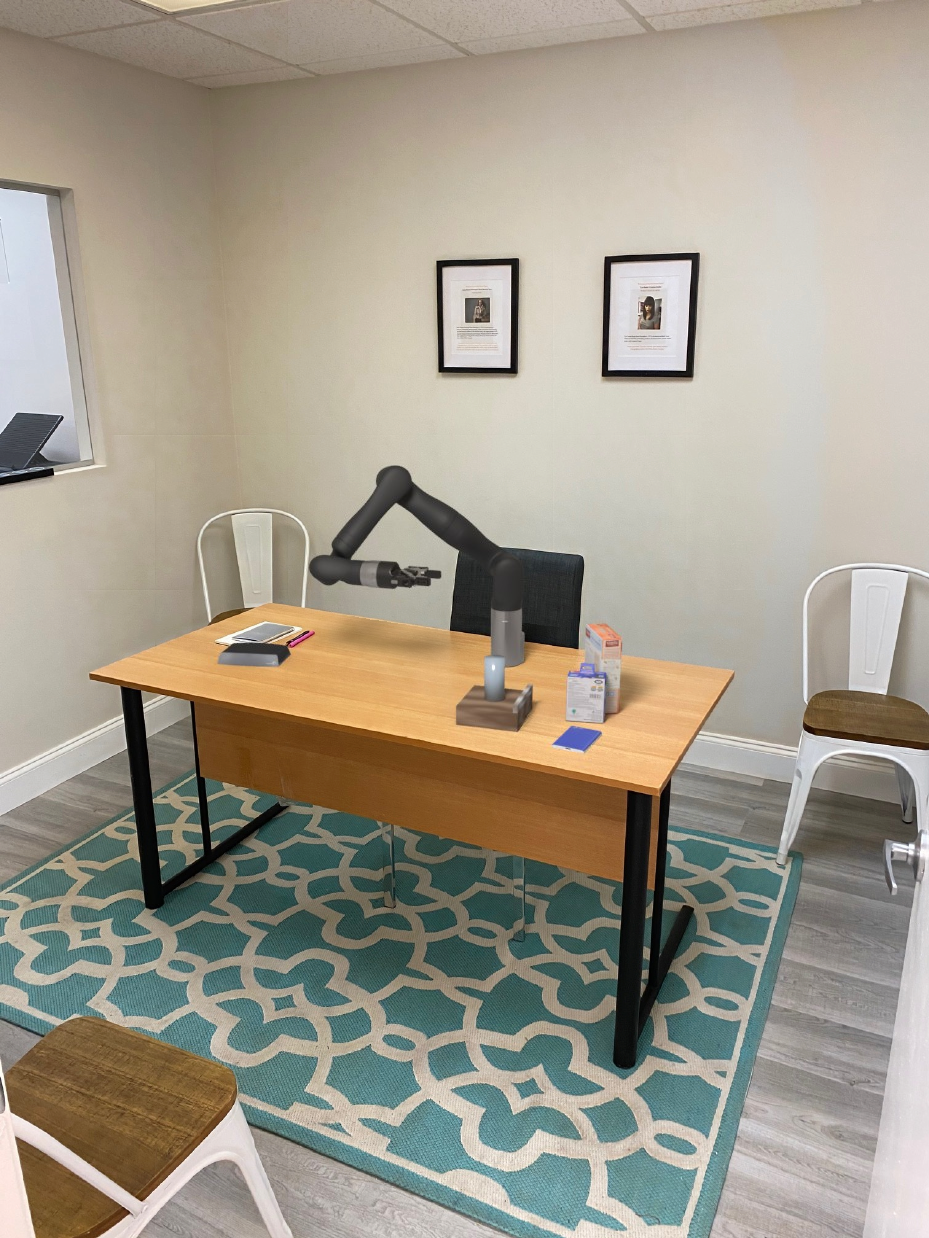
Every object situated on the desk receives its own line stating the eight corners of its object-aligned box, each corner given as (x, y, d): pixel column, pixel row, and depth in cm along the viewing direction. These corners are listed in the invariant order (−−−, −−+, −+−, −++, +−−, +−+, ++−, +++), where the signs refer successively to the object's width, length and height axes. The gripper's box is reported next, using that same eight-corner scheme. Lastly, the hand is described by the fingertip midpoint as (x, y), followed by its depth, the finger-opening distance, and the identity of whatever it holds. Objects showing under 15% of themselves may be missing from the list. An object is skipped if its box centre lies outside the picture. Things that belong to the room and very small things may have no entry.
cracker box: (619, 713, 244) (623, 637, 238) (597, 715, 243) (600, 638, 237) (603, 694, 257) (606, 621, 252) (582, 696, 257) (584, 623, 251)
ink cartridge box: (605, 716, 243) (607, 663, 239) (604, 724, 238) (606, 670, 234) (567, 713, 245) (568, 660, 241) (565, 721, 240) (566, 667, 236)
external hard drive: (277, 669, 280) (277, 656, 279) (216, 666, 283) (215, 653, 282) (292, 655, 293) (291, 642, 291) (232, 652, 295) (232, 640, 294)
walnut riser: (474, 702, 252) (474, 677, 250) (532, 708, 248) (532, 684, 246) (456, 724, 238) (455, 698, 236) (517, 731, 233) (517, 705, 231)
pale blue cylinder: (487, 693, 244) (487, 653, 241) (506, 696, 243) (507, 655, 240) (481, 700, 240) (481, 660, 237) (501, 703, 238) (501, 662, 235)
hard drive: (570, 725, 235) (551, 743, 224) (601, 731, 231) (584, 749, 220) (570, 731, 235) (551, 749, 224) (601, 736, 231) (583, 755, 221)
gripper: (369, 566, 250) (426, 570, 245) (389, 555, 263) (444, 559, 258) (370, 593, 252) (427, 598, 247) (390, 581, 265) (444, 585, 260)
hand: (435, 578), depth 253 cm, fingers open, 8 cm apart
